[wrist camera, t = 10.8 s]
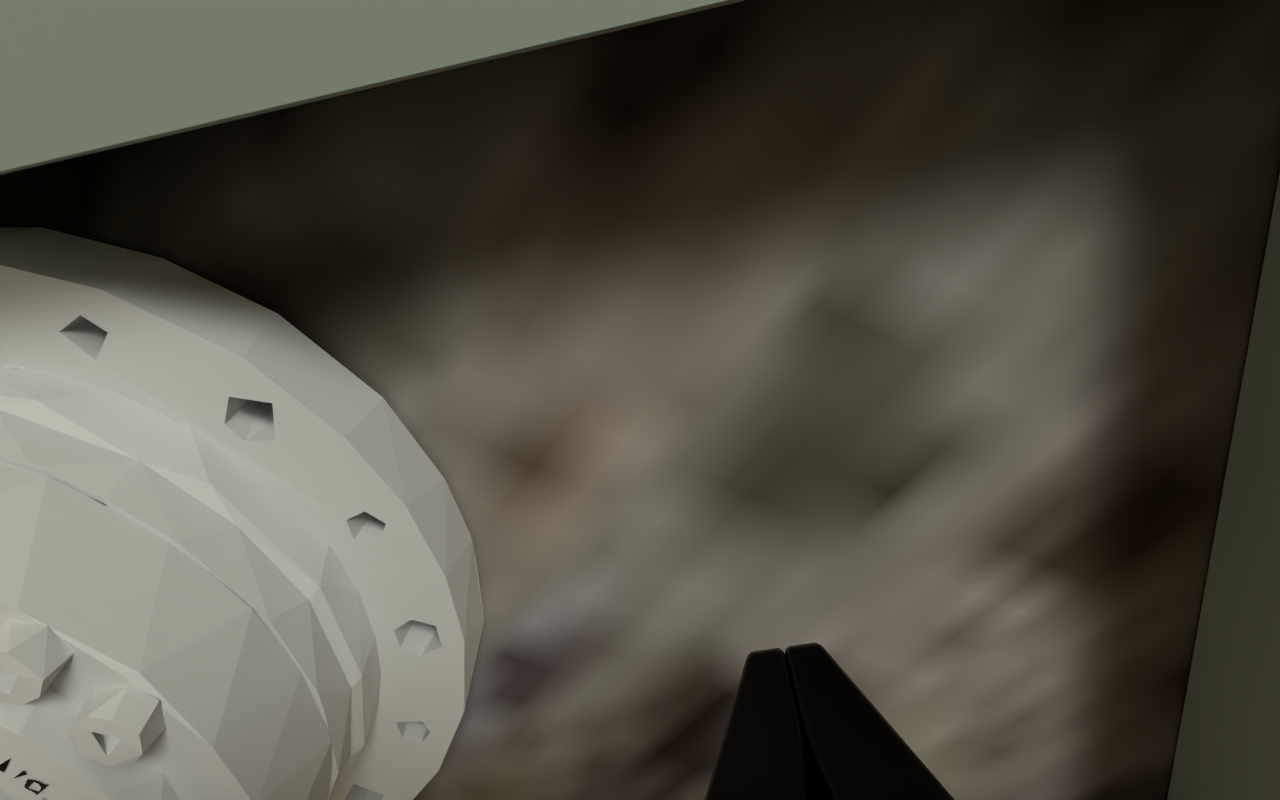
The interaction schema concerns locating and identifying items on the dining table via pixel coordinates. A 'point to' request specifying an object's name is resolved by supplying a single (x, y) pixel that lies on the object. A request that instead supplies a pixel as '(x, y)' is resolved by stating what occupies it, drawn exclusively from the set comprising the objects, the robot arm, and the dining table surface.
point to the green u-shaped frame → (542, 17)
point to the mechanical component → (211, 549)
